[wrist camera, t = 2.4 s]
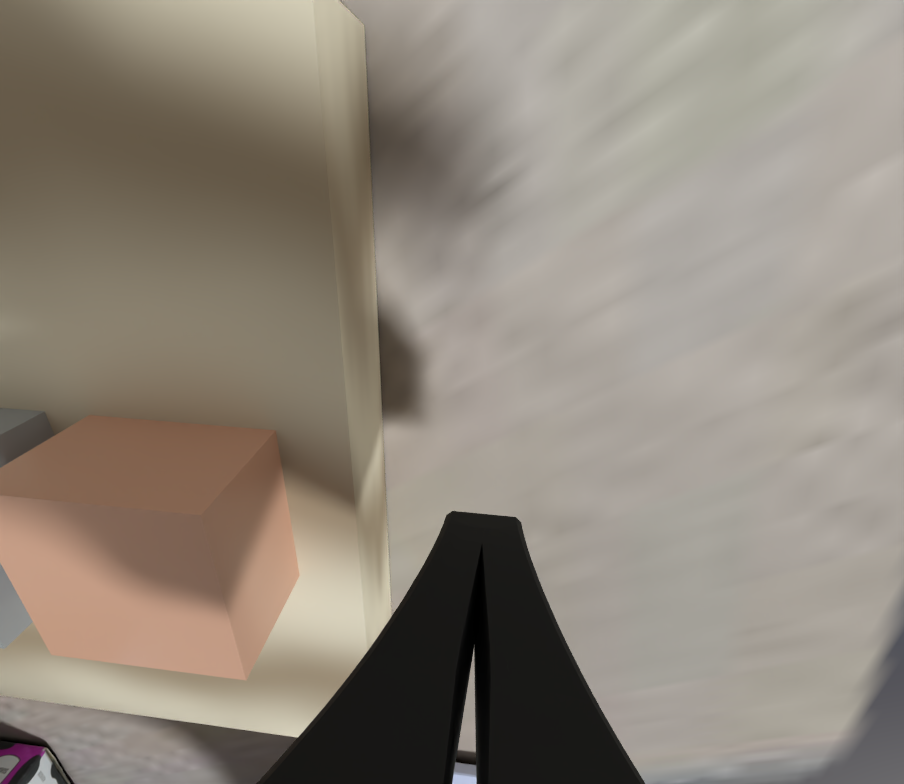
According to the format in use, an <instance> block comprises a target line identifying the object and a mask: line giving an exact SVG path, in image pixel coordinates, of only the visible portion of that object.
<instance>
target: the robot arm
mask: <svg viewBox="0 0 904 784" xmlns="http://www.w3.org/2000/svg"><path fill="white" fill-rule="evenodd" d="M473 649H474V652H475V718H476V765H471V764H464V763H457V762H456V756H457V750H458V743H459V737H460V731H461V725H462V718H463V712H464V706H465V700H466V693H467V687H468V681H469V674H470V668H471V662H472V656H473ZM257 784H645V783H644V781H643V779H642V778H641V776H640V774H639V773H638V771H637V769H636V768H635V766H634V765H633V763H632V761H631V760H630V758H629V756H628V755H627V753H626V752H625V750H624V748H623V747H622V745H621V743H620V741H619V740H618V738H617V736H616V734H615V733H614V731H613V729H612V728H611V726H610V724H609V722H608V721H607V719H606V717H605V715H604V714H603V712H602V710H601V708H600V707H599V705H598V703H597V701H596V699H595V697H594V696H593V694H592V692H591V690H590V688H589V686H588V684H587V683H586V681H585V679H584V677H583V675H582V673H581V671H580V669H579V667H578V665H577V663H576V661H575V659H574V657H573V655H572V653H571V651H570V649H569V647H568V645H567V643H566V641H565V639H564V637H563V635H562V632H561V630H560V628H559V626H558V624H557V622H556V619H555V617H554V615H553V612H552V610H551V608H550V605H549V603H548V601H547V599H546V596H545V594H544V592H543V589H542V587H541V584H540V582H539V579H538V577H537V574H536V571H535V568H534V566H533V563H532V560H531V557H530V554H529V551H528V548H527V545H526V541H525V538H524V534H523V530H522V525H521V522H520V521H519V520H518V519H517V518H516V517H508V516H498V515H487V514H477V513H467V512H456V511H452V512H451V513H449V514H448V515H446V518H445V521H444V524H443V527H442V529H441V531H440V534H439V536H438V538H437V540H436V542H435V544H434V546H433V548H432V550H431V552H430V554H429V556H428V558H427V560H426V561H425V563H424V565H423V567H422V569H421V570H420V572H419V574H418V575H417V577H416V579H415V580H414V582H413V584H412V585H411V587H410V589H409V590H408V592H407V594H406V595H405V597H404V599H403V600H402V602H401V603H400V605H399V606H398V608H397V609H396V611H395V612H394V614H393V615H392V617H391V618H390V620H389V621H388V623H387V624H386V625H385V627H384V628H383V630H382V631H381V633H380V634H379V636H378V637H377V639H376V640H375V642H374V643H373V644H372V646H371V647H370V649H369V650H368V651H367V653H366V654H365V655H364V657H363V658H362V659H361V661H360V662H359V663H358V665H357V666H356V667H355V669H354V670H353V671H352V673H351V674H350V675H349V677H348V678H347V679H346V680H345V682H344V683H343V684H342V685H341V687H340V688H339V689H338V690H337V692H336V693H335V694H334V695H333V697H332V698H331V699H330V700H329V702H328V703H327V704H326V705H325V707H324V708H323V709H322V710H321V711H320V712H319V714H318V715H317V716H316V717H315V718H314V719H313V721H312V722H311V723H310V724H309V725H308V726H307V728H306V729H305V730H304V731H303V732H302V733H301V735H300V736H299V737H298V738H297V739H296V740H295V742H294V743H293V744H292V745H291V746H290V747H289V749H288V750H287V751H286V752H285V753H284V754H283V755H282V756H281V757H280V759H279V760H278V761H277V762H276V763H275V764H274V765H273V766H272V767H271V769H270V770H269V771H268V772H267V773H266V774H265V775H264V776H263V777H262V778H261V780H260V781H259V782H258V783H257Z"/></svg>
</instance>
